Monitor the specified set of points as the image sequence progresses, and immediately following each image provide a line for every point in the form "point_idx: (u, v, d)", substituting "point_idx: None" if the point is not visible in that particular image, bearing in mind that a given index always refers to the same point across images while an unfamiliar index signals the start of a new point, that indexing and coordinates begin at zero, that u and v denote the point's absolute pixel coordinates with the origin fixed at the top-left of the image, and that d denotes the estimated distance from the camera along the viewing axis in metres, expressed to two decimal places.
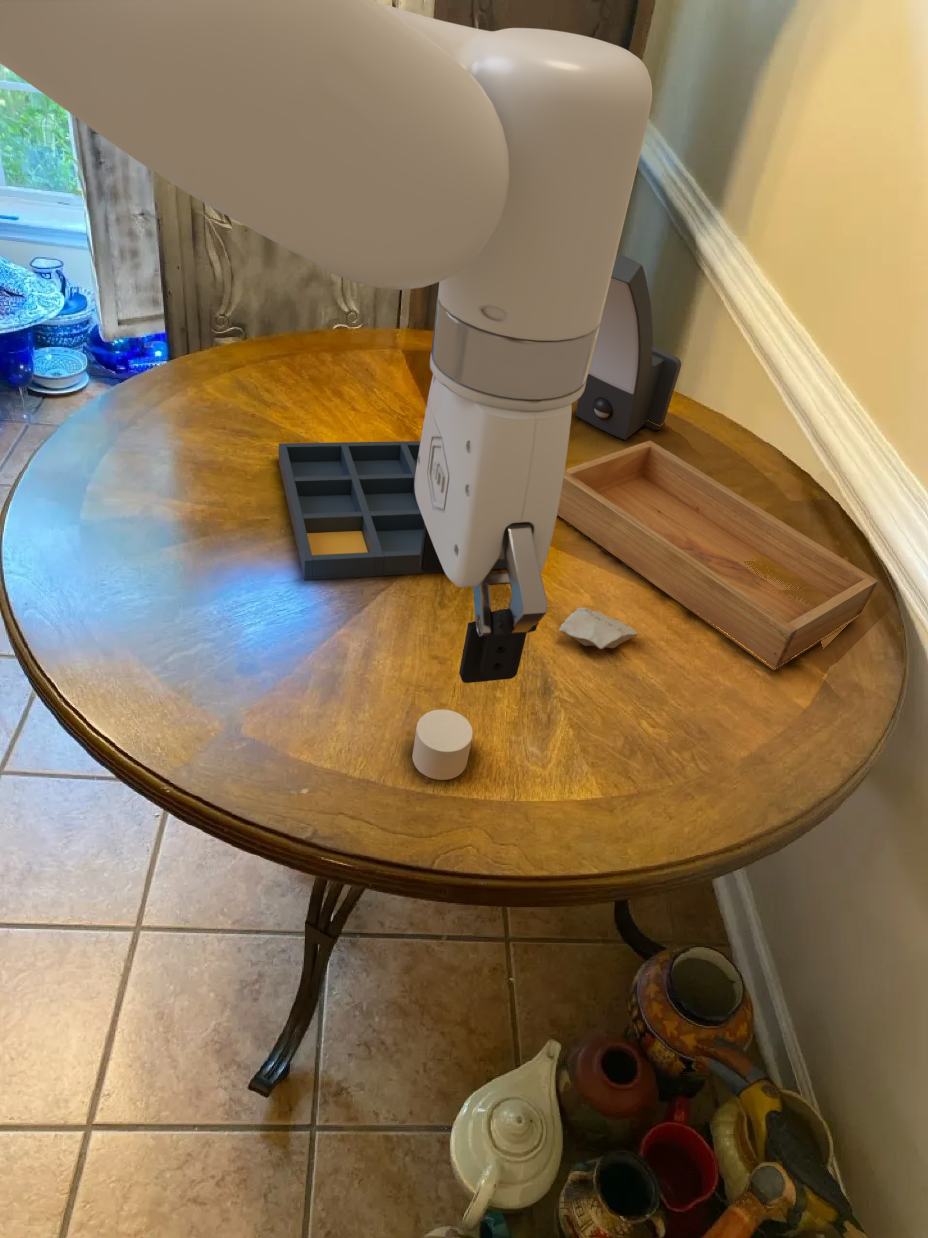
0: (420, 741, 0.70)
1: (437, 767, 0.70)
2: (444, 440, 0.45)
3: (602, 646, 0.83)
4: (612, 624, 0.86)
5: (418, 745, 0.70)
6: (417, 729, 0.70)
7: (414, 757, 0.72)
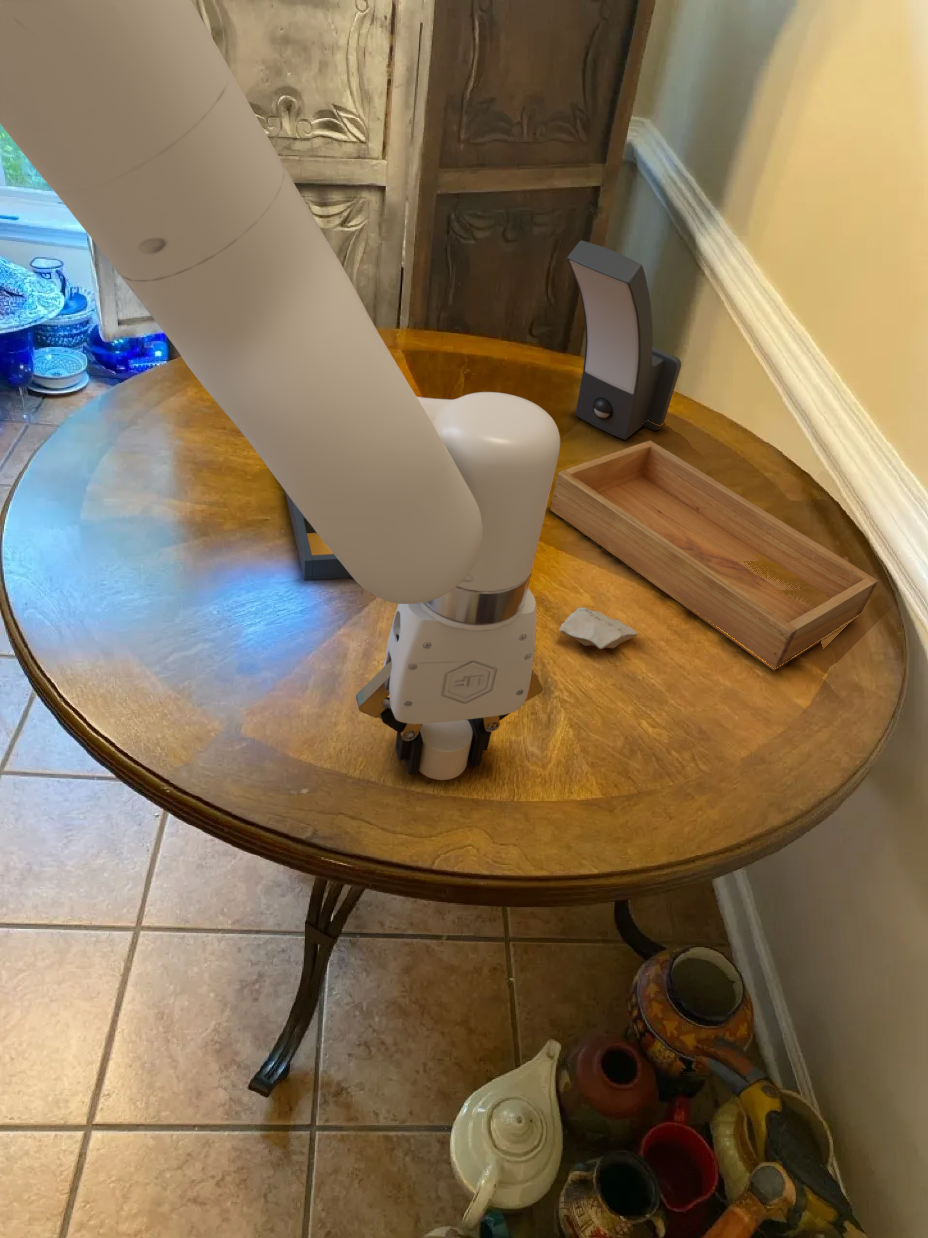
0: None
1: (437, 767, 0.70)
2: (479, 658, 0.62)
3: (602, 646, 0.83)
4: (612, 624, 0.86)
5: None
6: None
7: None
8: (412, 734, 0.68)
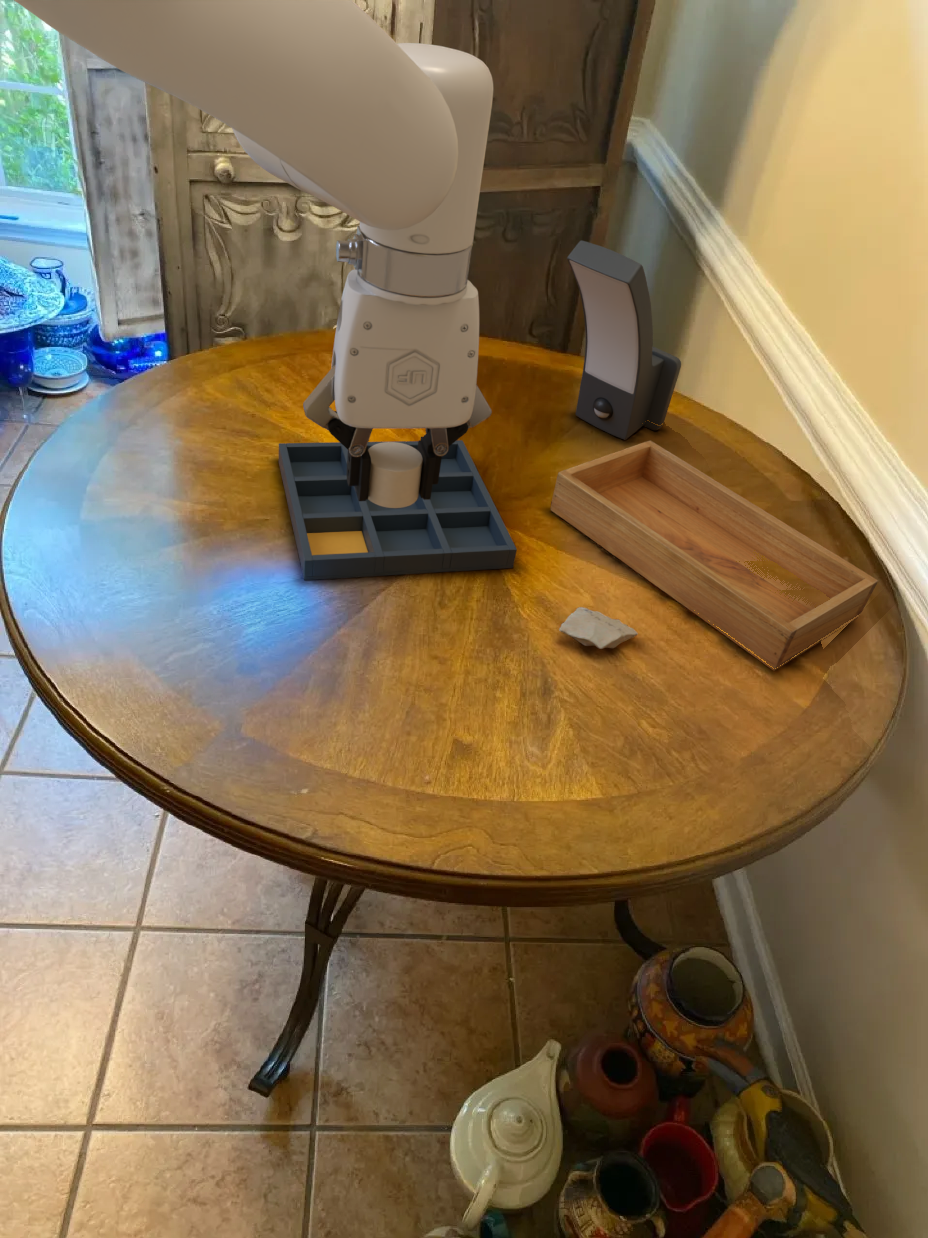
0: None
1: (386, 491, 0.71)
2: (421, 348, 0.63)
3: (602, 646, 0.83)
4: (612, 624, 0.86)
5: None
6: None
7: None
8: (360, 449, 0.68)
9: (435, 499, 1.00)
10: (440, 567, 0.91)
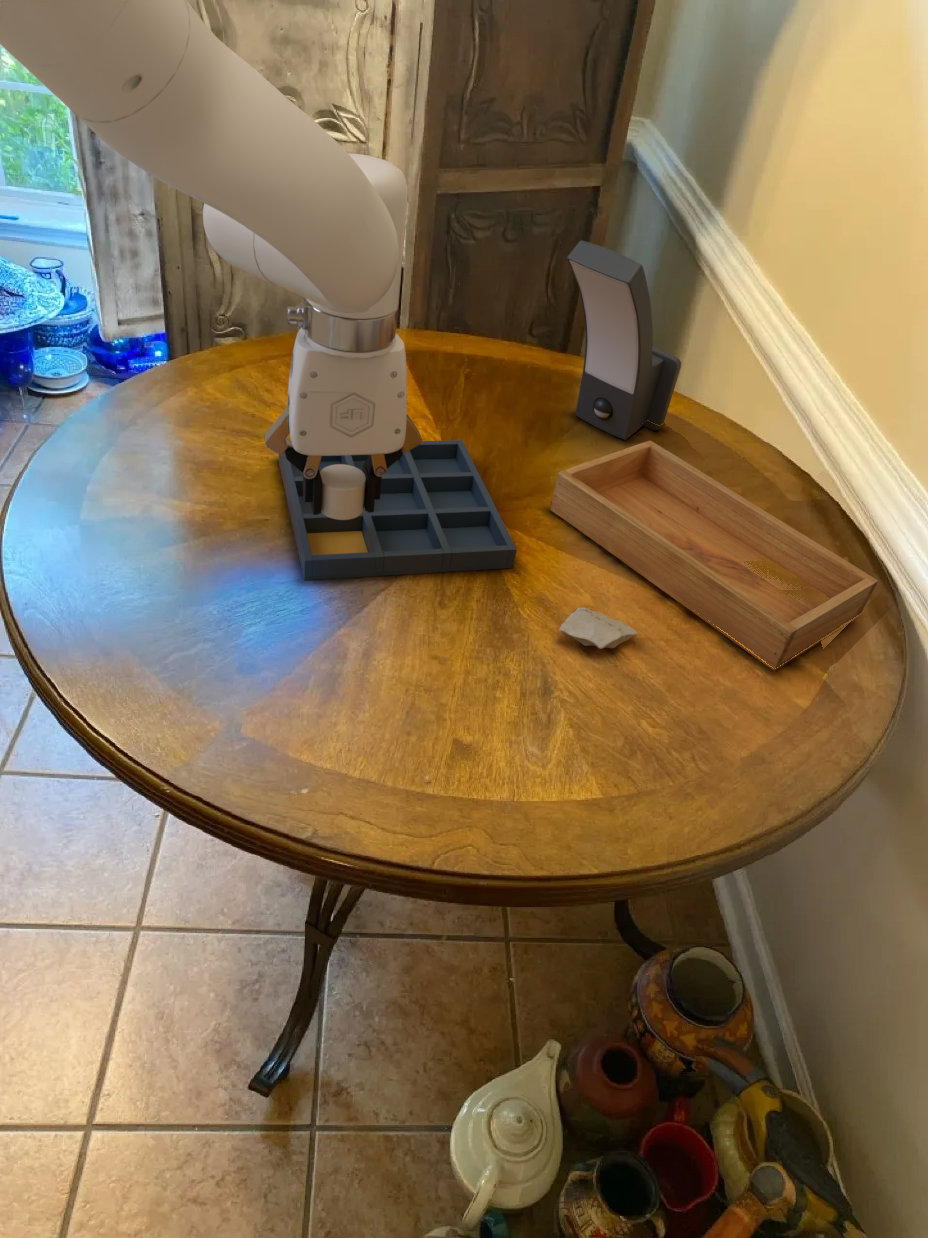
0: None
1: (335, 506, 0.85)
2: (358, 391, 0.77)
3: (602, 646, 0.83)
4: (612, 624, 0.86)
5: None
6: None
7: None
8: (312, 472, 0.83)
9: (435, 499, 1.00)
10: (440, 567, 0.91)
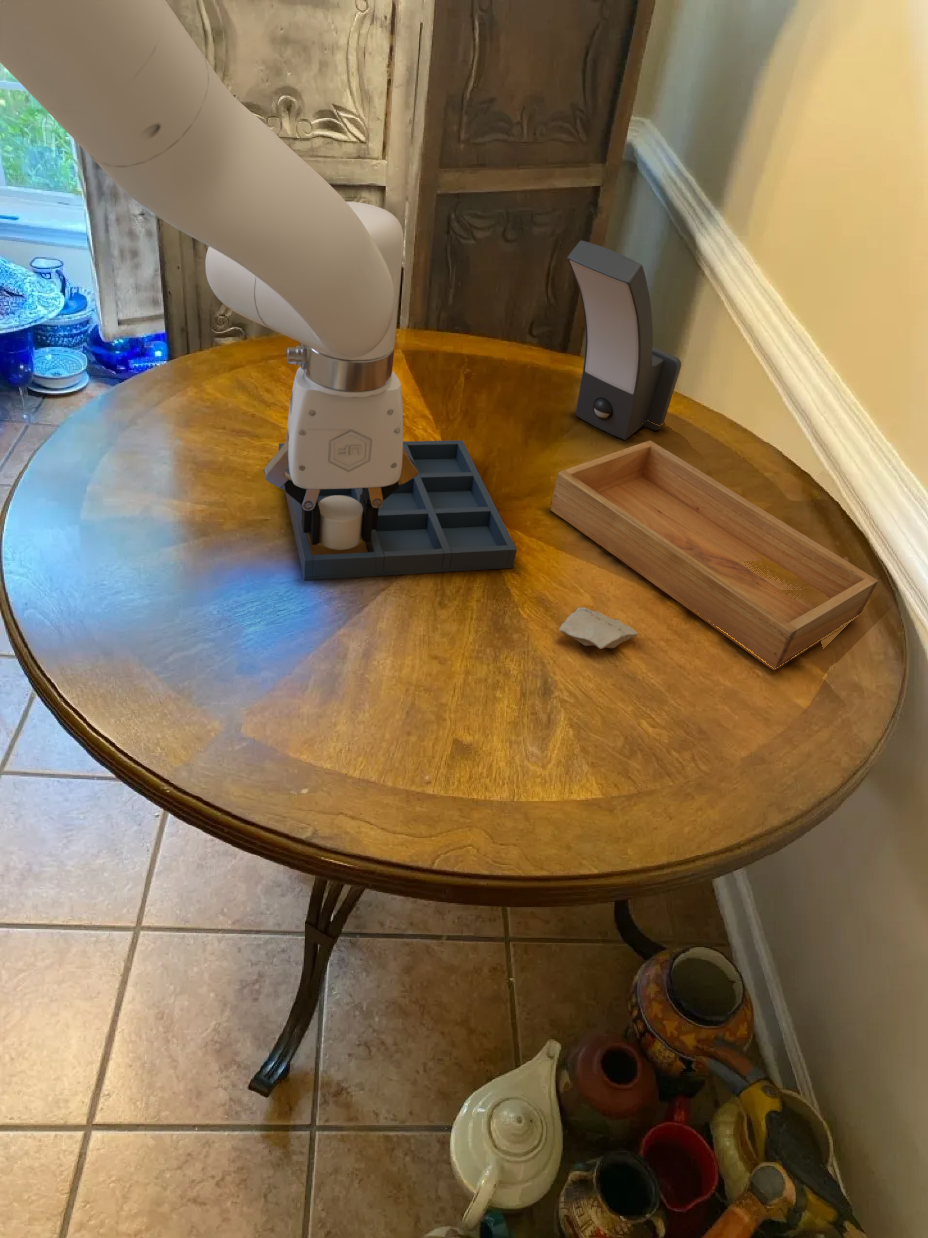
0: None
1: (333, 536, 0.87)
2: (356, 428, 0.79)
3: (602, 646, 0.83)
4: (612, 624, 0.86)
5: None
6: None
7: None
8: (311, 504, 0.85)
9: (435, 499, 1.00)
10: (440, 567, 0.91)
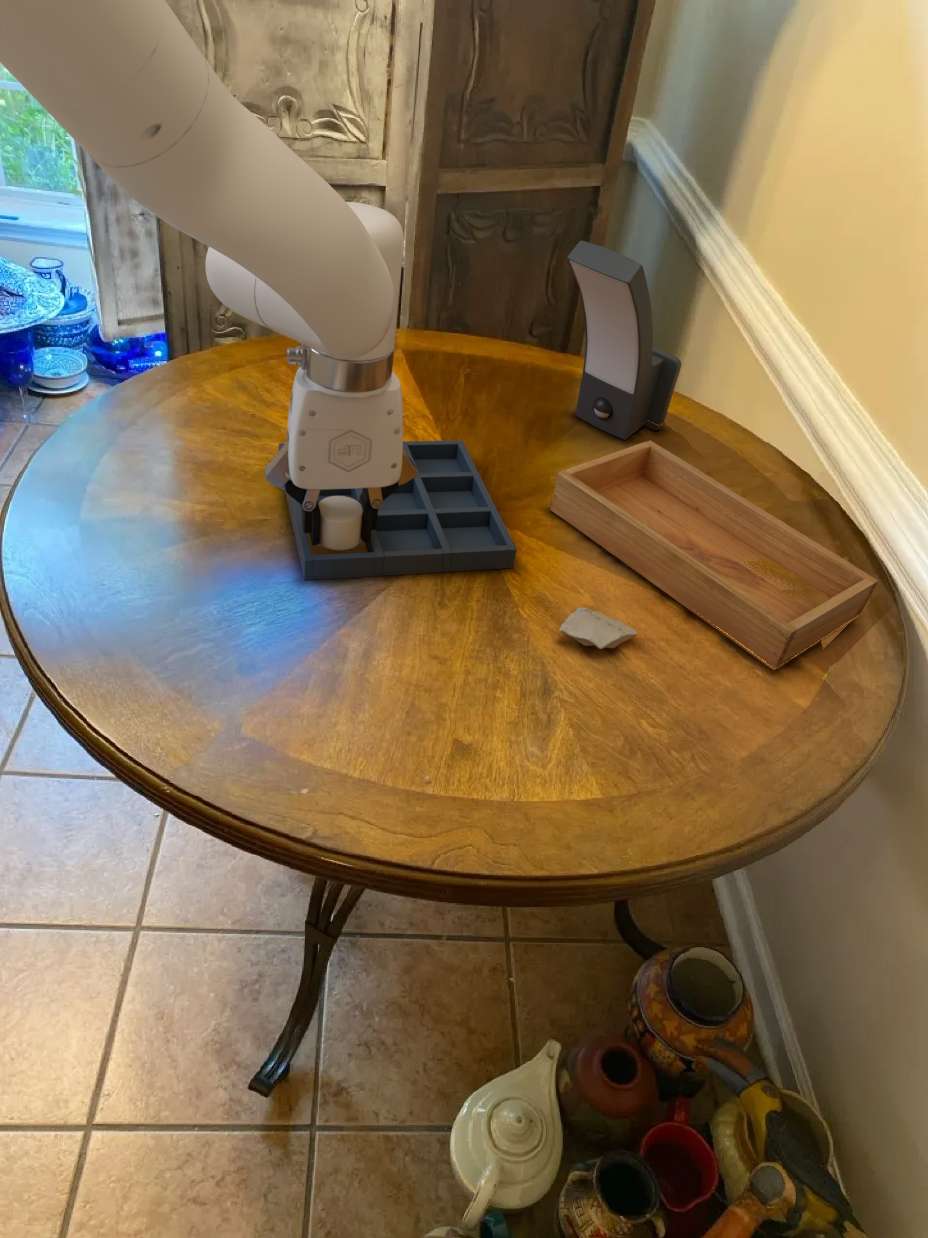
0: None
1: (333, 537, 0.87)
2: (356, 428, 0.79)
3: (602, 646, 0.83)
4: (612, 624, 0.86)
5: None
6: None
7: None
8: (311, 505, 0.85)
9: (435, 499, 1.00)
10: (440, 567, 0.91)
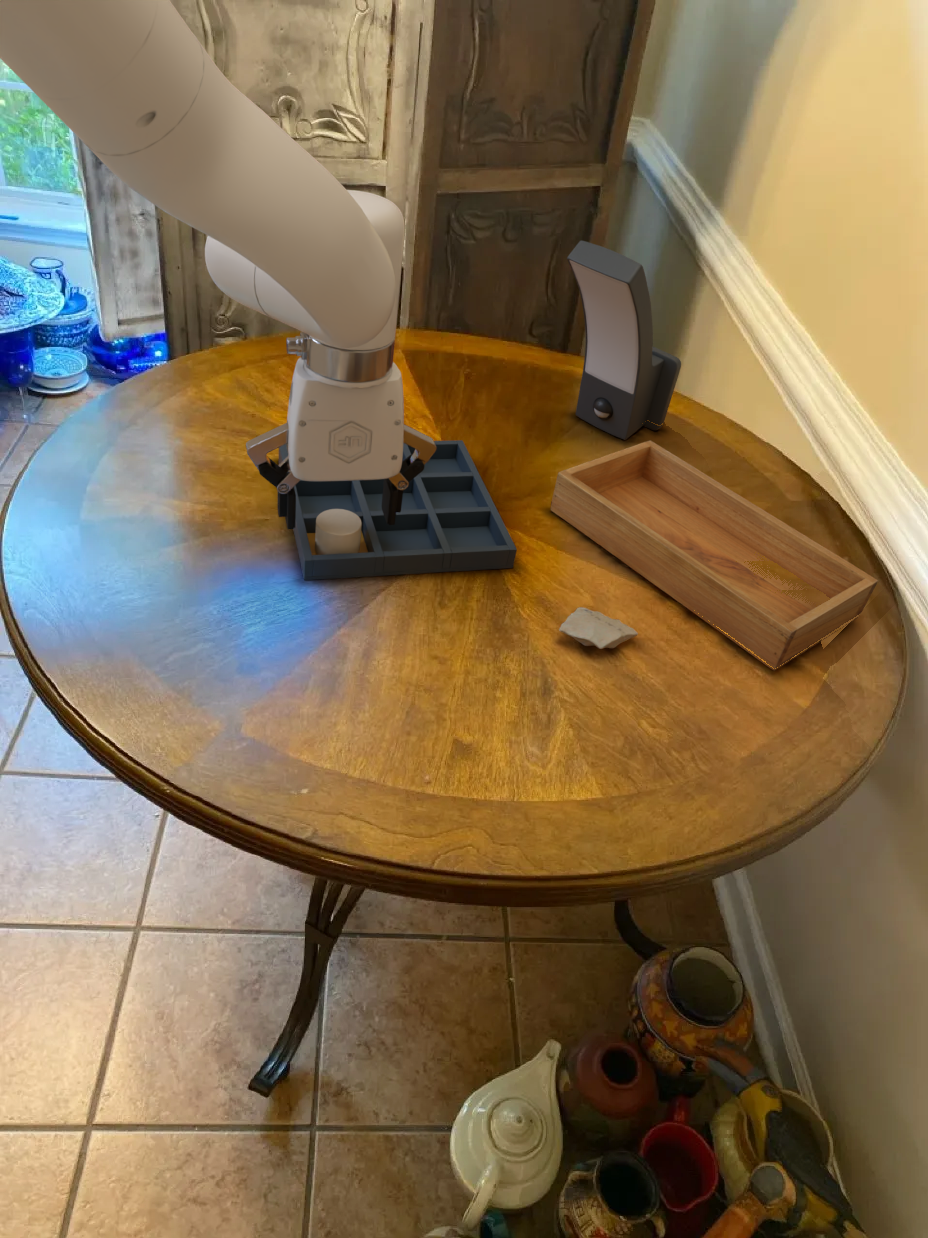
0: (318, 528, 0.87)
1: (332, 550, 0.88)
2: (356, 419, 0.78)
3: (602, 646, 0.83)
4: (612, 624, 0.86)
5: (317, 533, 0.88)
6: (316, 520, 0.88)
7: (315, 545, 0.89)
8: (286, 487, 0.83)
9: (435, 499, 1.00)
10: (440, 567, 0.91)
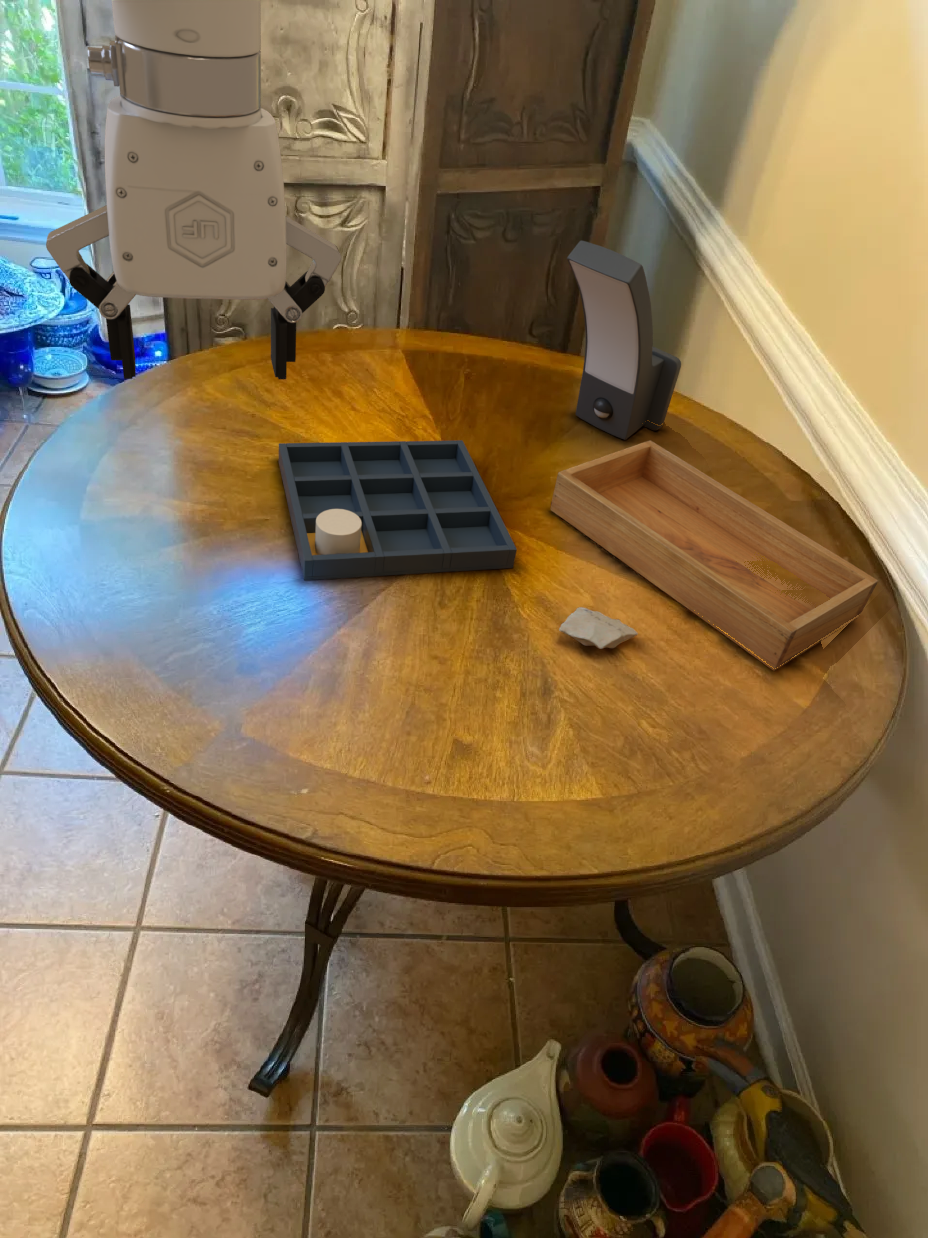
0: (318, 528, 0.87)
1: (332, 550, 0.88)
2: (206, 189, 0.51)
3: (602, 646, 0.83)
4: (612, 624, 0.86)
5: (317, 533, 0.88)
6: (316, 520, 0.88)
7: (315, 545, 0.89)
8: (113, 308, 0.56)
9: (435, 499, 1.00)
10: (440, 567, 0.91)
